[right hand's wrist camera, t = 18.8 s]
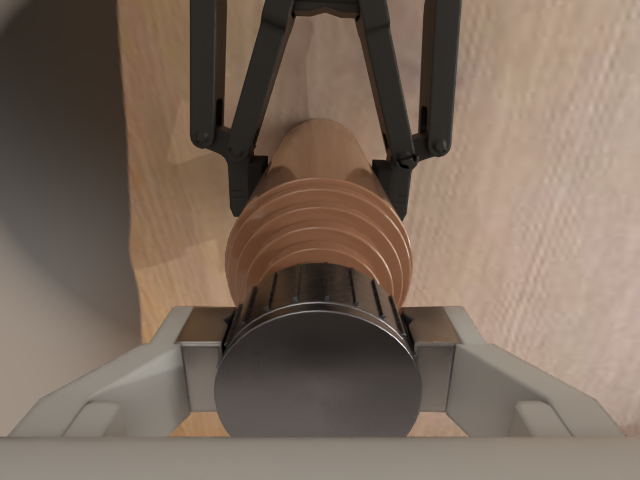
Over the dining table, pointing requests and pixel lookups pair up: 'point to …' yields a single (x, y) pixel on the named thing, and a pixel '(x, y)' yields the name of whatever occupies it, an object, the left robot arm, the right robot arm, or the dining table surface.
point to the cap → (318, 359)
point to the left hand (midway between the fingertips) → (316, 266)
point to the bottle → (319, 215)
